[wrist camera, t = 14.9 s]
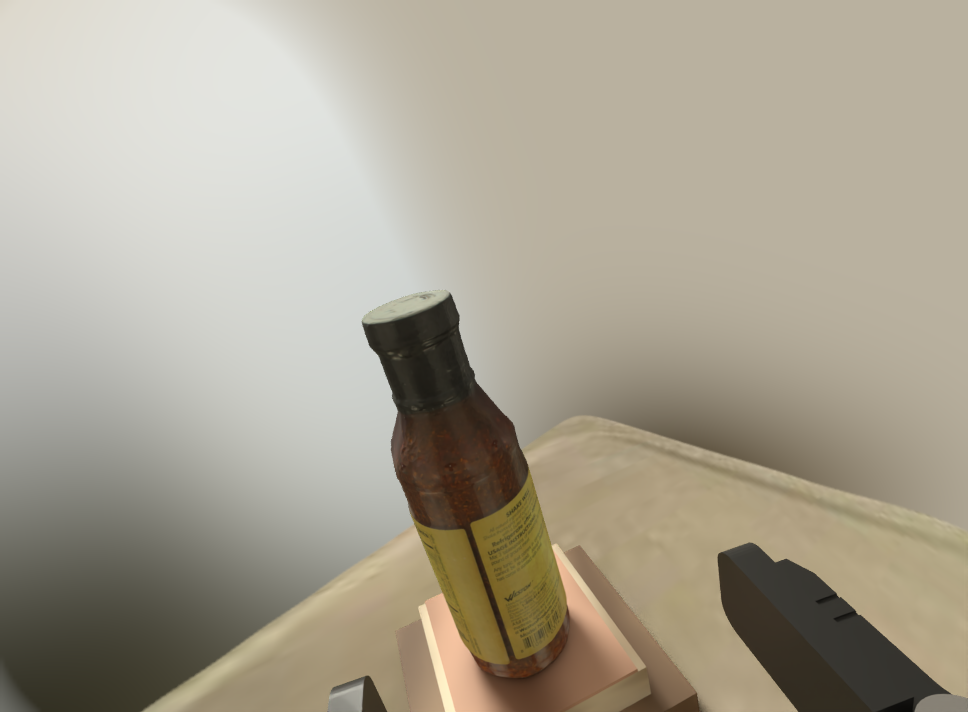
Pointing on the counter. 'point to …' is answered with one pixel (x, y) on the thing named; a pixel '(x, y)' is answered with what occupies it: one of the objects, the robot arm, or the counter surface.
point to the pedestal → (562, 684)
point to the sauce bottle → (469, 491)
